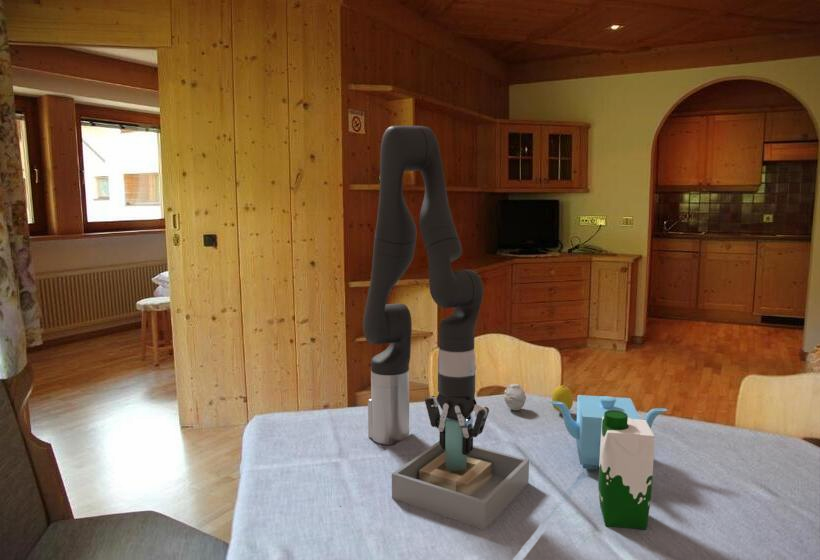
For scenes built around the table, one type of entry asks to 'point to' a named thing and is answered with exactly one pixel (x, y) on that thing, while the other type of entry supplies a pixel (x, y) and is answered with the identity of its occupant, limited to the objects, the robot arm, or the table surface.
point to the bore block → (465, 484)
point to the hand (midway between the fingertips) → (456, 450)
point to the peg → (454, 446)
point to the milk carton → (625, 470)
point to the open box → (471, 510)
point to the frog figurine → (514, 397)
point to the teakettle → (596, 423)
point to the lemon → (562, 397)
